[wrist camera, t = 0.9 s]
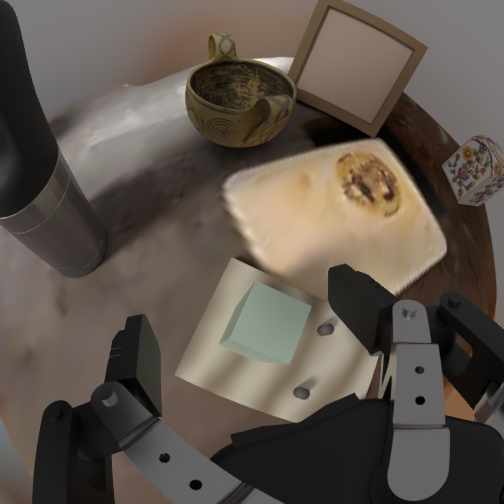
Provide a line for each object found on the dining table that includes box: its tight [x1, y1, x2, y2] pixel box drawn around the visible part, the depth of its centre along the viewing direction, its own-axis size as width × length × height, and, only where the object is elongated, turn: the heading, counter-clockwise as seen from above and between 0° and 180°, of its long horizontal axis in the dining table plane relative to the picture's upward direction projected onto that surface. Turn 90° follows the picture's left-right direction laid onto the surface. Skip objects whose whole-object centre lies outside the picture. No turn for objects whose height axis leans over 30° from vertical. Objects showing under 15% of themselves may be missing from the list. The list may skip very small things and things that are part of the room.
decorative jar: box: [442, 135, 504, 206], centre depth 47 cm, size 12×12×18 cm
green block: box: [218, 280, 312, 364], centre depth 26 cm, size 5×5×12 cm
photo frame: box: [288, 0, 428, 138], centre depth 43 cm, size 15×22×25 cm
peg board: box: [175, 258, 383, 423], centre depth 31 cm, size 24×16×4 cm, turn 67°
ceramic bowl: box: [185, 33, 297, 147], centre depth 38 cm, size 22×17×15 cm
